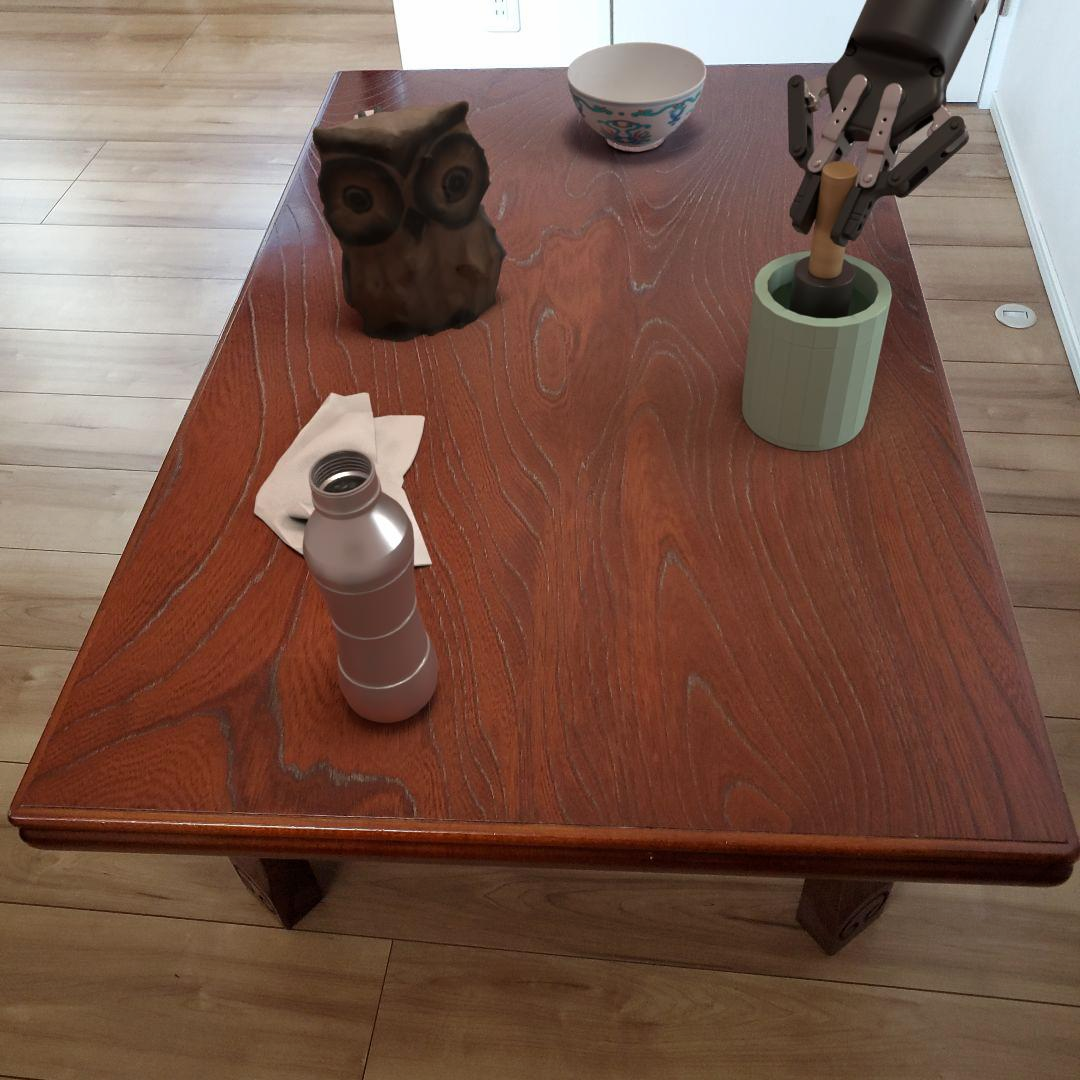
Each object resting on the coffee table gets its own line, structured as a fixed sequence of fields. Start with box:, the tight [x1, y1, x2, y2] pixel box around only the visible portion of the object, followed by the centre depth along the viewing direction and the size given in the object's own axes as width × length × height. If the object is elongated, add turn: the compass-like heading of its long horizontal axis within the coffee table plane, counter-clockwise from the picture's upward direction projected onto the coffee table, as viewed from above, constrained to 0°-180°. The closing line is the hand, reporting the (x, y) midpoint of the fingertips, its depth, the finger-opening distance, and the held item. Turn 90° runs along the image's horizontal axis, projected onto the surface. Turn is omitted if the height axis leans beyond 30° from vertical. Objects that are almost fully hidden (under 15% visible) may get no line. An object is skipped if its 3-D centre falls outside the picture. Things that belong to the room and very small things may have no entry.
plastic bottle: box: [302, 449, 439, 724], centre depth 67 cm, size 6×7×20 cm
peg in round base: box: [789, 161, 859, 319], centre depth 82 cm, size 4×4×13 cm
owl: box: [312, 100, 508, 342], centre depth 98 cm, size 13×13×20 cm
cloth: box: [253, 392, 433, 567], centre depth 87 cm, size 26×14×2 cm, turn 4°
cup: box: [741, 250, 893, 452], centre depth 88 cm, size 10×10×12 cm
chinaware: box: [566, 41, 707, 147], centre depth 123 cm, size 15×15×8 cm
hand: (818, 235), depth 79 cm, fingers closed on peg in round base, 2 cm apart
